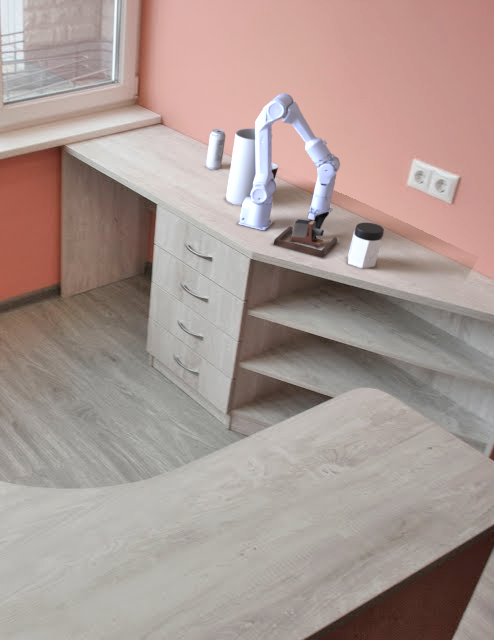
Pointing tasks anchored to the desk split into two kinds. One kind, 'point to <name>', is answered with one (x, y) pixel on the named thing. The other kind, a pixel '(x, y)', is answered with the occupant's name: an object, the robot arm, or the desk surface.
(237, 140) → the cylinder vase
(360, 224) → the jar
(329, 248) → the frame
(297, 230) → the electronic device
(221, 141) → the energy drink can
